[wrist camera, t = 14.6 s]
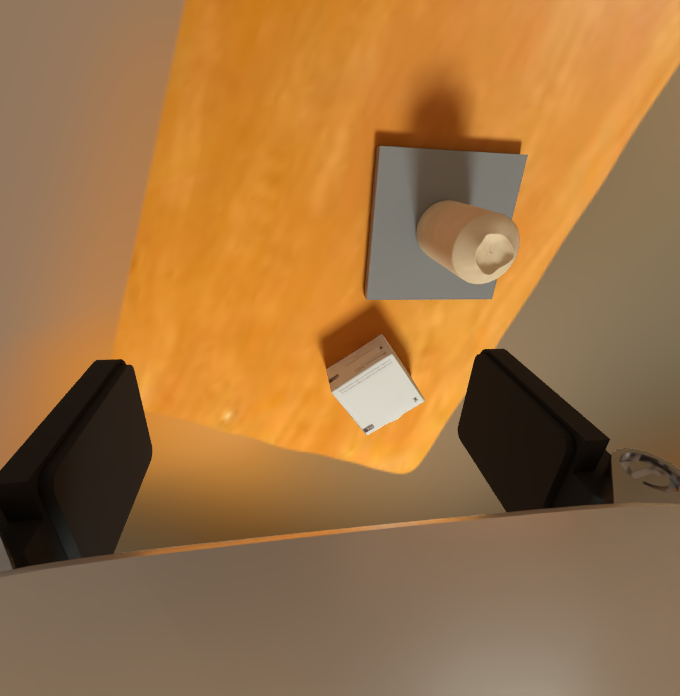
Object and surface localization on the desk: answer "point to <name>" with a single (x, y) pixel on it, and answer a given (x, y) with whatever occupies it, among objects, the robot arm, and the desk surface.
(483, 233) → the candle
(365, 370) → the small box
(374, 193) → the slate coaster
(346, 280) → the desk surface
